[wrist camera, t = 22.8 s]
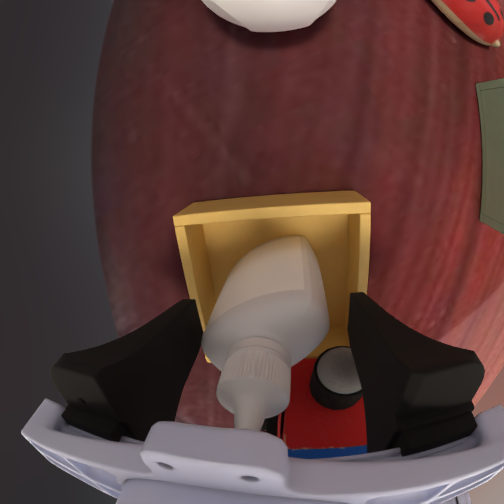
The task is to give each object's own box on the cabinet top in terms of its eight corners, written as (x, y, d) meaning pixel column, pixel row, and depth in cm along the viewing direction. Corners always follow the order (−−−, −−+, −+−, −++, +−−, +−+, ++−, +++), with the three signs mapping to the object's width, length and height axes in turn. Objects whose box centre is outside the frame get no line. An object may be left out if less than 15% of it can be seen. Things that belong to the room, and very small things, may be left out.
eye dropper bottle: (227, 233, 17) (136, 374, 6) (318, 233, 17) (358, 390, 6) (232, 294, 19) (174, 450, 8) (315, 295, 18) (329, 463, 7)
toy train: (412, 319, 14) (452, 569, 2) (339, 432, 25) (337, 548, 13) (258, 319, 15) (219, 606, 2) (259, 432, 26) (245, 550, 14)
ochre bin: (350, 328, 20) (358, 359, 16) (217, 332, 21) (206, 362, 18) (355, 190, 16) (371, 201, 13) (193, 202, 18) (172, 216, 14)
